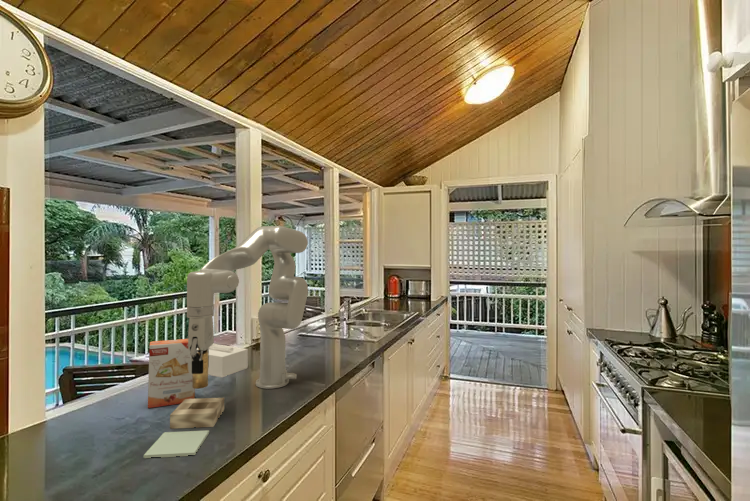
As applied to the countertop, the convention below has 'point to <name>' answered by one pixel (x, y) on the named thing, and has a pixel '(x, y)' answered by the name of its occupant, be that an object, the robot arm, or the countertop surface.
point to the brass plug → (201, 379)
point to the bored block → (197, 413)
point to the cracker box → (169, 373)
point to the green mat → (177, 444)
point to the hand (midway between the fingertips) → (200, 370)
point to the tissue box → (226, 360)
